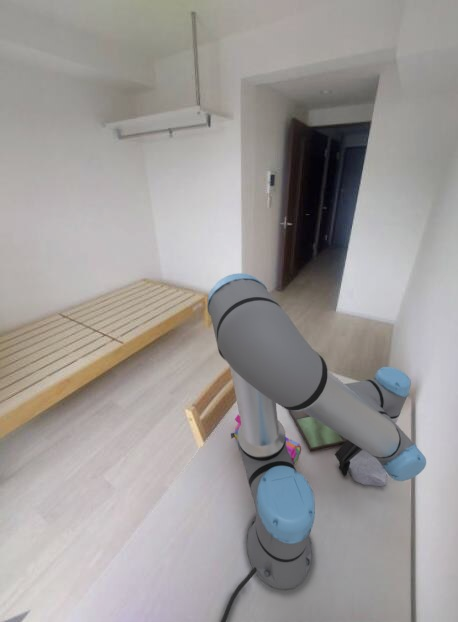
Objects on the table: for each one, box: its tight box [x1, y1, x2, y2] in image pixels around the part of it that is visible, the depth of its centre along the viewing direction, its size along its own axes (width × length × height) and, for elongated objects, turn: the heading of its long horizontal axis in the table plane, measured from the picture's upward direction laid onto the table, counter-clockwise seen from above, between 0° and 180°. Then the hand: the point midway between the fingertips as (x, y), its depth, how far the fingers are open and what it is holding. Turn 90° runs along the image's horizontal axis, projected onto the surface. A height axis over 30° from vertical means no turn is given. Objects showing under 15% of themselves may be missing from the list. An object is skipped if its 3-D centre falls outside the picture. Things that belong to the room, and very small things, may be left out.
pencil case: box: [230, 413, 302, 467], centre depth 85 cm, size 22×9×9 cm, turn 55°
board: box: [288, 410, 347, 453], centre depth 99 cm, size 24×24×2 cm
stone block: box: [348, 450, 387, 487], centre depth 82 cm, size 12×5×10 cm
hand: (362, 466), depth 82 cm, fingers open, 13 cm apart
